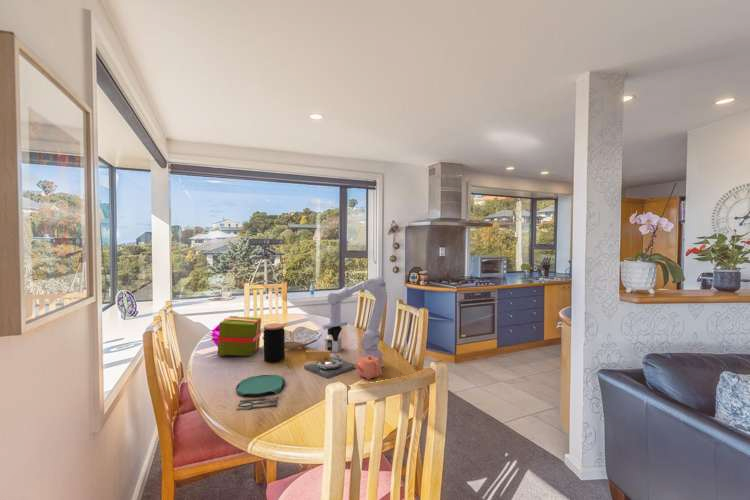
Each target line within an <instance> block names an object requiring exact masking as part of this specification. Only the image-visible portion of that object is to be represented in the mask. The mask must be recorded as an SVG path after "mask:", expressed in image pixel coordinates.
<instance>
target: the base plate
mask: <svg viewBox="0 0 750 500" xmlns="http://www.w3.org/2000/svg"><path fill="white" fill-rule="evenodd" d="M354 366H355V364H354V363H352V362H348V361H345V360H342V366H340V367H338V368H334V369H323V368H320V367H318V361H313V362H311V363H308V364H305V365H304V366H303V369H304V370H307V371H310V372H311V373H314V374H317V375H318V376H322V377H323V378H326V379H329V378H332V377H334V376H338V375H340V374H342V373H346V372H349V371H351V370H354V369H356V368H355V367H354Z"/></svg>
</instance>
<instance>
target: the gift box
mask: <svg viewBox="0 0 750 500" xmlns="http://www.w3.org/2000/svg"><path fill="white" fill-rule="evenodd" d="M261 323H262V317H249V316H248V317H247V316H246V317H245V316H238V315H237V316H236V315H230V316H228V317H226V318H224V319H223V320H222V321H220V322H219V323H218V324H217V325H216V326H215V327H214V328H213V329H211V332H212V334H210V337H212V338H211V339H210V341H212V343H213V344H215V346H216V347H217V356H229V357H230V356H238V357H239V356H243V357H251V356H252V355H253V354H255V353H256V352H257V350H258V349H259V348H260V340H261V339H260V338H261V337H260V336H261V335H262V330H261V326H262V325H261Z"/></svg>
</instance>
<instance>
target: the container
mask: <svg viewBox="0 0 750 500" xmlns="http://www.w3.org/2000/svg"><path fill="white" fill-rule="evenodd" d="M342 338H343V337H342V335H340V334H339V337H338V341H333V337H332V334H331V332H330V330H329V329H327V336H326V337H324V351H331V352H332V353H339V351H340V350H342V348H343V347H342V345H343V344H342V343H343V341H342Z"/></svg>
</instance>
